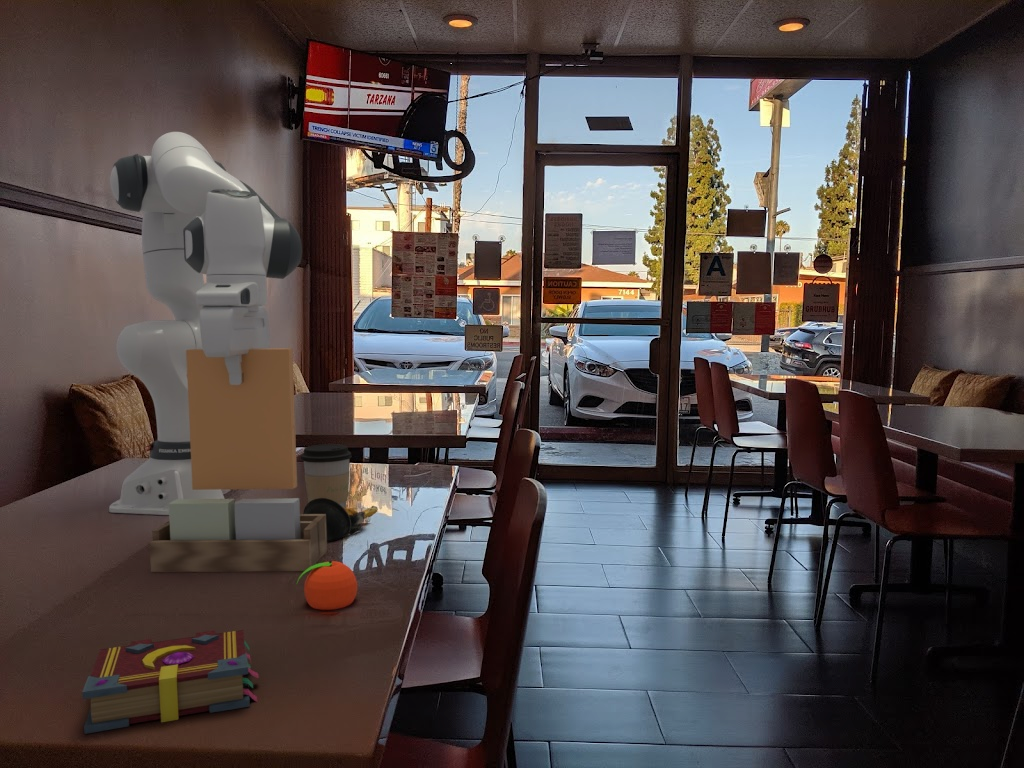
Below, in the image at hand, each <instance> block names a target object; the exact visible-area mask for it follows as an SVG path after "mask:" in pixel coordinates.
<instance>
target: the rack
mask: <svg viewBox="0 0 1024 768" xmlns="http://www.w3.org/2000/svg"><path fill="white" fill-rule="evenodd" d="M300 531H301V539H292V540H170V521H169V520H168V521H166V522H164V523H163V524H162V525H159V526H158V527H156V528H155V529H153V530H151V537H152V540H150V542H149V557H150V559H149V560H150V562H149V563H150V572H151V573H183V572H184V573H192V572H193V573H194V572H196V573H197V572H200V573H203V572H206V573H207V572H208V573H209V572H227V573H228V572H230V573H231V572H304V571H305V570H307V569H308V568H309V567H311V566H313V565H316V564H318V562H319V561H320V560H321V558H322V557H323V556H324V555H325V554H326V553H327V552H328V542H327V531H326V514H303V513H300Z"/></svg>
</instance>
